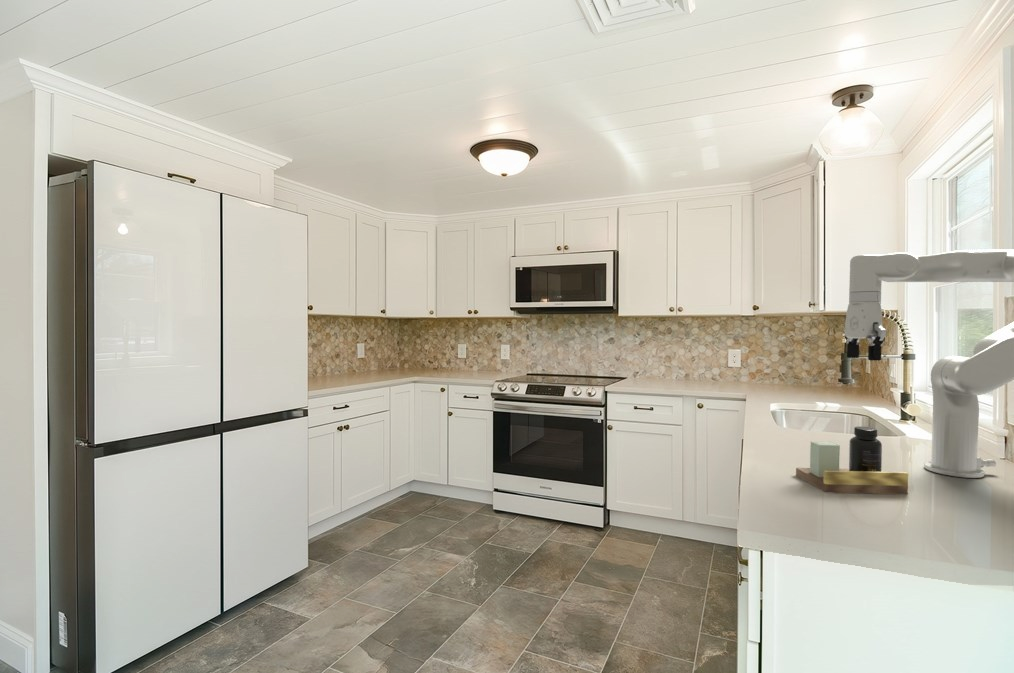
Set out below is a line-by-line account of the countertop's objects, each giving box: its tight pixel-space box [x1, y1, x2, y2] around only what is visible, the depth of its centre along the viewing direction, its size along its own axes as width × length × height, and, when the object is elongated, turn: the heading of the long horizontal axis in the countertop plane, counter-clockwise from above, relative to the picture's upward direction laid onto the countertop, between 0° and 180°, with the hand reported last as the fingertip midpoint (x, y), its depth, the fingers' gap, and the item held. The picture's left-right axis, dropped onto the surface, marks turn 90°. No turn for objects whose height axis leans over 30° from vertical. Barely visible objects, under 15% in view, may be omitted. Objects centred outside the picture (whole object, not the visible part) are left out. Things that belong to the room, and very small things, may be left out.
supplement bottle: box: [848, 426, 883, 472], centre depth 132 cm, size 7×7×12 cm
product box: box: [809, 441, 841, 477], centre depth 133 cm, size 5×4×8 cm
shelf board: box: [795, 467, 909, 495], centre depth 132 cm, size 19×14×5 cm
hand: (863, 359), depth 149 cm, fingers open, 9 cm apart
